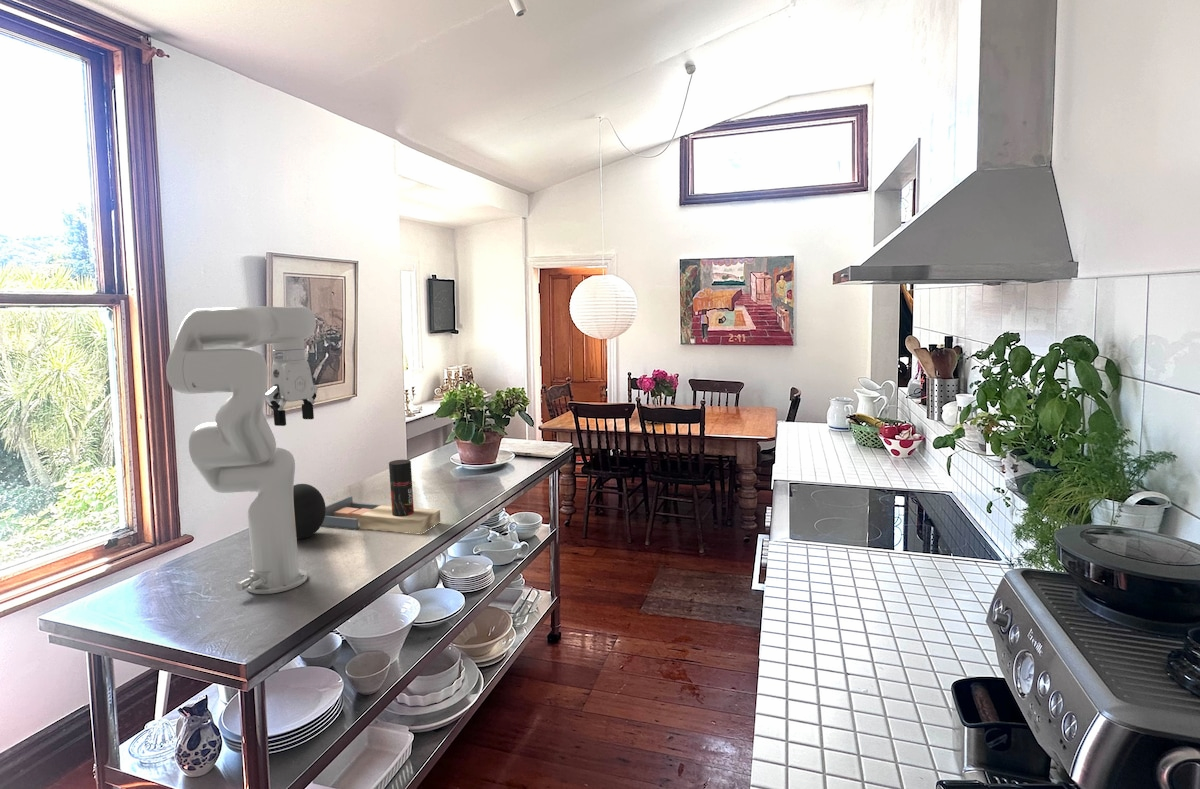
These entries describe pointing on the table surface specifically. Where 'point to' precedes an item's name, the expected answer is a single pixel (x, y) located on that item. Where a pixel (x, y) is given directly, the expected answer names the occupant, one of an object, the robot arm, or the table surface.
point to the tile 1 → (345, 512)
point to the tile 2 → (359, 513)
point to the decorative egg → (308, 510)
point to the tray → (342, 521)
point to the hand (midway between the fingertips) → (294, 422)
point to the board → (399, 520)
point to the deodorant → (401, 487)
